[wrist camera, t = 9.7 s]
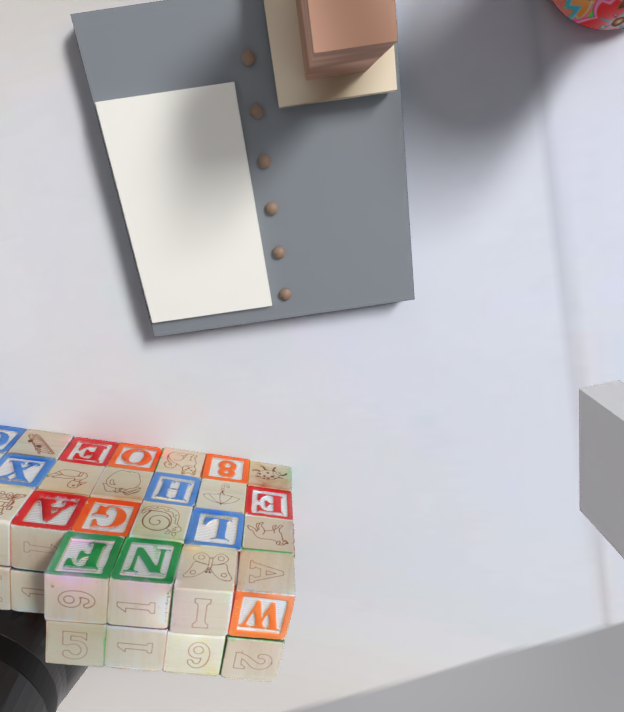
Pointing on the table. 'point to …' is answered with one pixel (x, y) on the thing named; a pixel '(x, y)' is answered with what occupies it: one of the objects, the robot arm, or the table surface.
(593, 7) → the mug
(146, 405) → the table surface
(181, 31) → the board
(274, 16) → the stub
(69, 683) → the robot arm
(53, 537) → the stack of blocks
